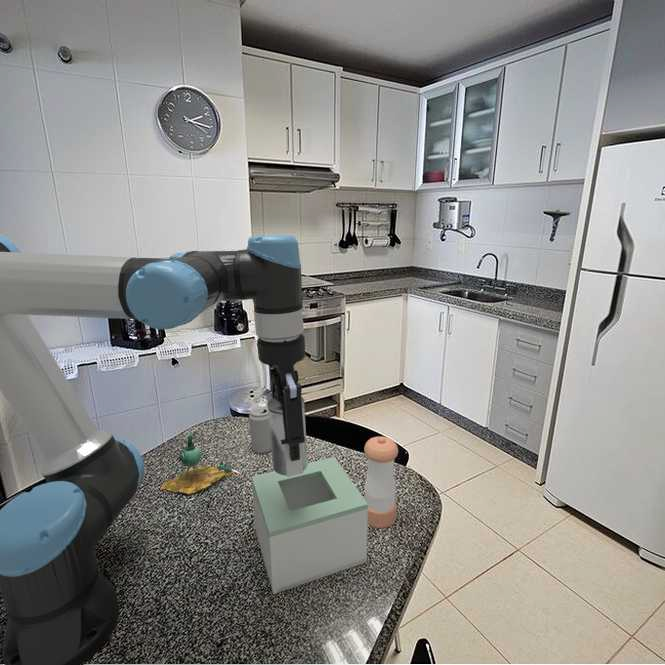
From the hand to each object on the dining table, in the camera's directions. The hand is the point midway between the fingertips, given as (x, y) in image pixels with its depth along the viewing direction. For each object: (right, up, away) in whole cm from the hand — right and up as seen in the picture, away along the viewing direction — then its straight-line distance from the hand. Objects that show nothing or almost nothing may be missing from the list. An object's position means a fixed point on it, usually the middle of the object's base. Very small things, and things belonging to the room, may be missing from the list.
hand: (290, 462), depth 69 cm
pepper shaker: (+18, -18, +18) cm, 31 cm away
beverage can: (-12, -11, +44) cm, 47 cm away
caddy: (+3, -20, +10) cm, 22 cm away
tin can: (0, 0, 0) cm, 0 cm away
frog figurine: (-26, -15, +30) cm, 42 cm away
